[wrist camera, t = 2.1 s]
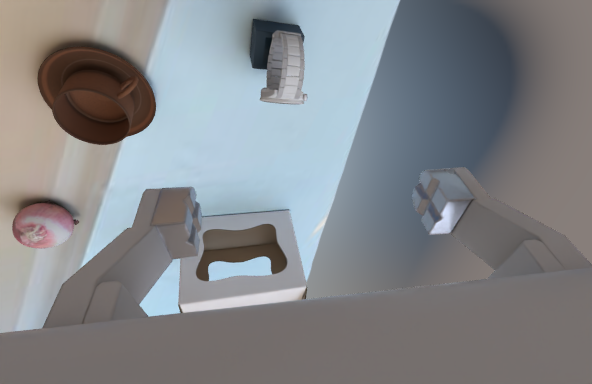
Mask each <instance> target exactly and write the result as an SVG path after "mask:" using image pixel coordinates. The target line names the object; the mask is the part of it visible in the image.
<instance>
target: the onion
mask: <svg viewBox="0 0 592 384" xmlns="http://www.w3.org/2000/svg"><path fill="white" fill-rule="evenodd" d="M78 223H79V221H78V220H77V221H76V219H75V220H73V217H72V215H71V214H70V213H69V212H68V211H67V210H66V209H65V208H63V207H61V206H58V205H56V204H54V203H52V202H50V200H49V201H47V202H44V203H37V204H33V205H30V206H28V207H25V208H24V209H22V210H21V211H19V212H18V213H17V215H16V216H15V218H14V220H13V226H12V230H13V234H14V237H15V238H16V239H17V240H18V241H19V242H20V243H21V244H23V245H25V246H28V247H32V248H50V247H55V246H57V245H60V244H61V243H63V242H65V241H66V240H67V239H68V238H69V237H70V236H71V235H72V232H73V229H74V224H75V225H77V224H78Z"/></svg>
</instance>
